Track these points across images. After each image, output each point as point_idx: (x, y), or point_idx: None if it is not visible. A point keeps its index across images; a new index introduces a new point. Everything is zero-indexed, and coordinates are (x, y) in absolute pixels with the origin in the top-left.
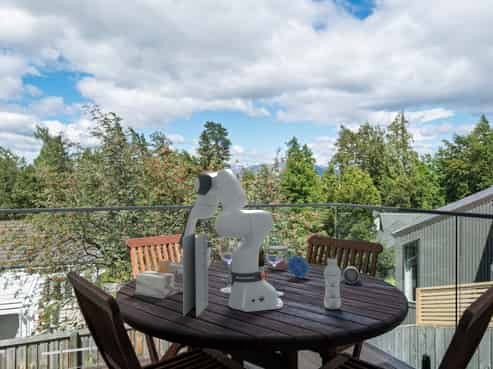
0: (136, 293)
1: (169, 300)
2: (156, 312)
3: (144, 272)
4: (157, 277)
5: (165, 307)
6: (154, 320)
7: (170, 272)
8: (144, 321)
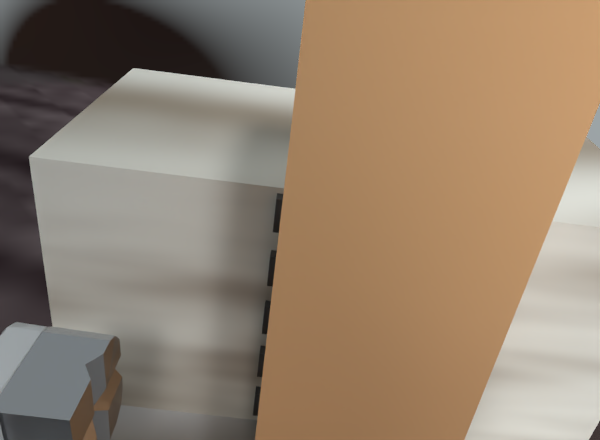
0: None
1: (40, 247)
2: (46, 120)
3: (575, 163)
4: (212, 83)
5: (16, 160)
6: (14, 80)
7: (267, 338)
8: (59, 75)
